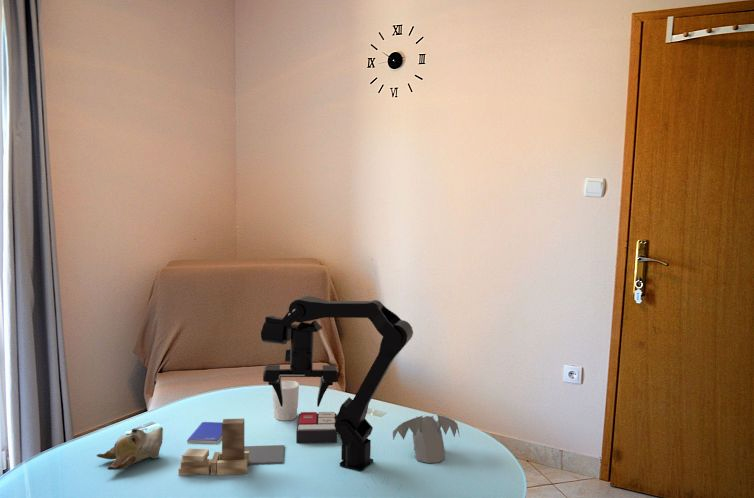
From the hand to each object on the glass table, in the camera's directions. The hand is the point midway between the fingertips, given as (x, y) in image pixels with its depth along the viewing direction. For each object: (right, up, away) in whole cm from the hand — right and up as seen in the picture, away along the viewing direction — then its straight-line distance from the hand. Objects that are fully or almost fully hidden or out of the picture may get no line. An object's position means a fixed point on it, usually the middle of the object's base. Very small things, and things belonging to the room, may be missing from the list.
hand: (299, 406), depth 152 cm
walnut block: (-15, -14, -7) cm, 22 cm away
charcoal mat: (-10, -13, +1) cm, 17 cm away
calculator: (+3, -12, +17) cm, 21 cm away
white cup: (-8, -11, +27) cm, 30 cm away
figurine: (+33, -14, +4) cm, 36 cm away
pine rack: (-15, -14, -7) cm, 22 cm away
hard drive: (-27, -12, +14) cm, 33 cm away
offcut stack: (-24, -13, -8) cm, 29 cm away
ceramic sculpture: (-41, -13, -4) cm, 43 cm away
